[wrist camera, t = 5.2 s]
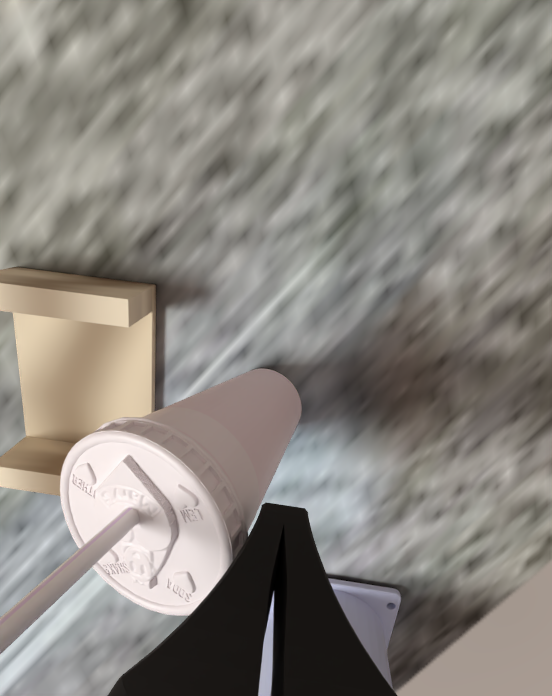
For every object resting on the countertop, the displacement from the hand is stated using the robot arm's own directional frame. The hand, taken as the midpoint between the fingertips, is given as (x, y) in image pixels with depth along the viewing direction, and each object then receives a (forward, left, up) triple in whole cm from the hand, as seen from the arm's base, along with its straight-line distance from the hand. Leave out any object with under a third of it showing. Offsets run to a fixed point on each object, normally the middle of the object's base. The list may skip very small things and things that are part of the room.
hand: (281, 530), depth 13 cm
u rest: (0, +11, -9) cm, 14 cm away
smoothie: (0, +1, -9) cm, 9 cm away
